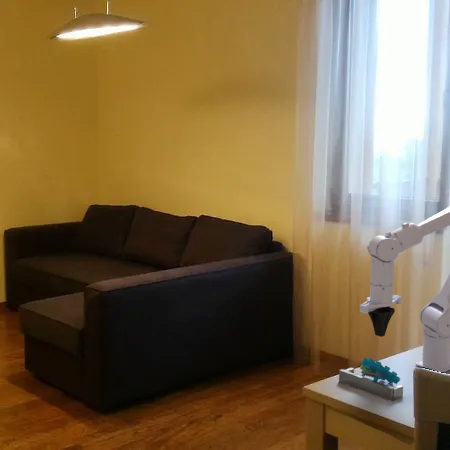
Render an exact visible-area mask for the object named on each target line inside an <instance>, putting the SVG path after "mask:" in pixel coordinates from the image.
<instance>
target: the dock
mask: <svg viewBox="0 0 450 450" xmlns="http://www.w3.org/2000/svg"><path fill="white" fill-rule="evenodd" d="M338 382H339V383H342V384H345V385H346V386H350V387H352V388H355V389H357V390H360V391H363V392H366V393H368V394H370V395H374V396H376V397H378V398H381V399H385V400H386V401H390V402H393V401H395V400H397V399H400V398H402V397H403V396H404V394H403V393H404V385H401V384H397V385H396V386H390V385H387V384H385V383H382V382H379V381H374V380H373V379H371V378H368V377H365V376H364V377H363V376H361V375H360V374H358V373H355V368H354V367H349V368H346V369H344V368H343V369H342V368H341V369H339V370H338Z"/></svg>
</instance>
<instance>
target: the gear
mask: <svg viewBox="0 0 450 450" xmlns="http://www.w3.org/2000/svg"><path fill="white" fill-rule="evenodd" d="M359 369H360V370H361V372H360V373H361V375H360V376H363V377H365V376H366V377H370V378H372V380H374V381H377V382H379V380H381V381H386V382H388V384H391V383H392V384H395V385H398V383H400V381H401V378H400V377H399V376H398V373H397V372H395V371H392V372H391V371H390V370H391V367H390V366H388V365H382V362H381V361H378V360H376V361H375V360H374V359H373V358H370V357H368V359H367V358H366V357H364V358H362V361H361V365H360V367H359Z"/></svg>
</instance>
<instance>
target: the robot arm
mask: <svg viewBox="0 0 450 450" xmlns="http://www.w3.org/2000/svg"><path fill="white" fill-rule="evenodd" d="M449 226H450V205H449V206H448V207H447V208H445V209H443V210H441V211H439V212H437V213H436V214H434V215H432V216H430V217H428V218H427V219H425V220H423V221H421V222H419V223H414V222H404V223H403V222H402V223H401V226H400V227H397V228H396V229H393V230H392V231H386V232H385V235H376V236H374V237H372V238H371V240H370V241H369V243H368V245H367V246H366V250H367V252H368V253H369V255H370V279H369V281H370V282H369V297H367V298H366V301H365V302H363V303H362V304H359V313H362V314H364V315H367V314H368V315H369V318H370V321H371V324H372V326H373V330H374V335H375V336H377V337H380V338H381V337H385V335H386V333H387V330H388V325H389V322H390V320H391V319H392V317H393V315H394V314H395V311H396V310H395V308H394V307H393V305H401V304H402V296H400V295H398V294H397V295H396V294H394V274H395V260H396V259H397V258H398V257H399V254H401V253H402V252H405V251H406V250H407V251H408V250H409V249H411V248H413V247H416V246H417V245H420V244H421V243H422V242H423V240H424V239H423V238H424V237H425V236H428V235H430V234H432V233H436V232H437V231H440V230H442V229H445V228H447V227H449ZM391 306H392V307H391ZM419 320H420V322H421V324H422V325H423V339H422V340H423V341H422V342H423V343H422V360H420V361H418V362H415V366H416V367H417V366H418V367H421V368H423V367H425V368H424V369H426V368H429V369H432V370H435V371H440V372H444V373H446V372H448V371H450V273H449V274H448V276H447V278H446V280H445V282H444V284H443V286H442V288H441V290H440V292H439V294H437V295H434V296H433V297H432V298H430V300H429V302H428V303H427V304H426V305H425V306H424V307H423V308H422V309H421V311H420V314H419ZM429 369H428V370H429ZM432 370H431V371H432ZM435 371H434V372H435Z"/></svg>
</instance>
